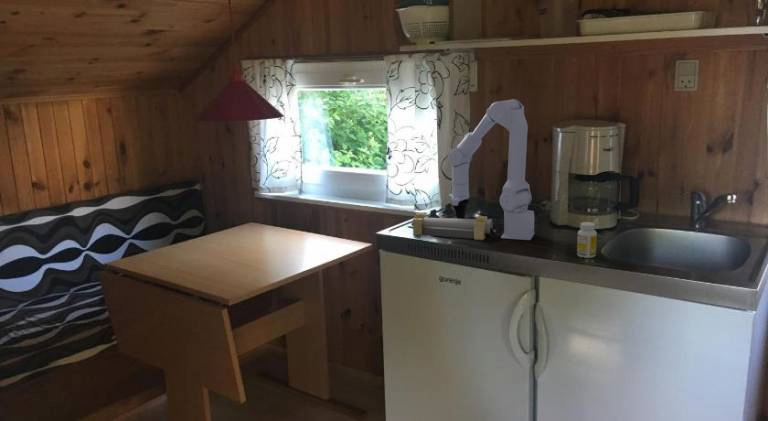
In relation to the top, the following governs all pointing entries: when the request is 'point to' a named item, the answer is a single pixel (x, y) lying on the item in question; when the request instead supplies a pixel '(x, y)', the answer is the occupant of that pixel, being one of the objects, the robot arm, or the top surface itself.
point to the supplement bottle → (587, 240)
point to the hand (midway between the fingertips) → (460, 220)
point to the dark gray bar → (448, 232)
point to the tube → (455, 223)
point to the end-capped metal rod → (478, 226)
